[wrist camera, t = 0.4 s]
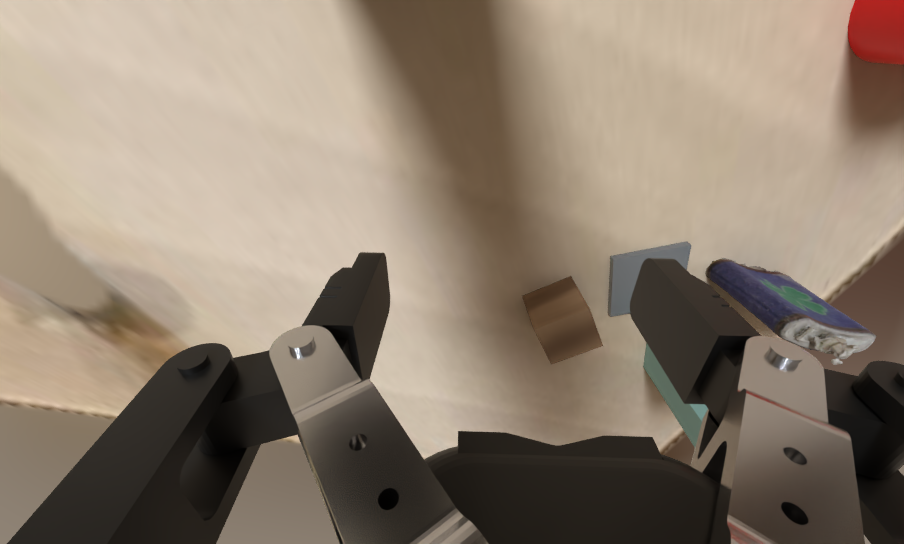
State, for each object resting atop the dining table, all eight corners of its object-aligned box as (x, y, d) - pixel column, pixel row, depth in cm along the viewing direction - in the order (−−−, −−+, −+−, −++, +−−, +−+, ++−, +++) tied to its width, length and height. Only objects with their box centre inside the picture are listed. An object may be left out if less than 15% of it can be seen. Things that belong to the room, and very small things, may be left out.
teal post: (646, 342, 41) (702, 422, 32) (683, 336, 40) (749, 415, 32) (643, 366, 43) (695, 447, 34) (678, 360, 42) (738, 441, 34)
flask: (792, 274, 36) (910, 353, 27) (771, 297, 38) (876, 379, 29) (716, 254, 35) (815, 331, 26) (696, 278, 36) (784, 360, 27)
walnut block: (522, 295, 36) (533, 329, 32) (570, 275, 35) (589, 308, 31) (538, 328, 39) (551, 364, 35) (583, 311, 38) (602, 345, 34)
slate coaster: (608, 253, 35) (613, 260, 34) (683, 238, 34) (691, 245, 33) (605, 309, 38) (610, 316, 37) (673, 296, 38) (679, 303, 37)
